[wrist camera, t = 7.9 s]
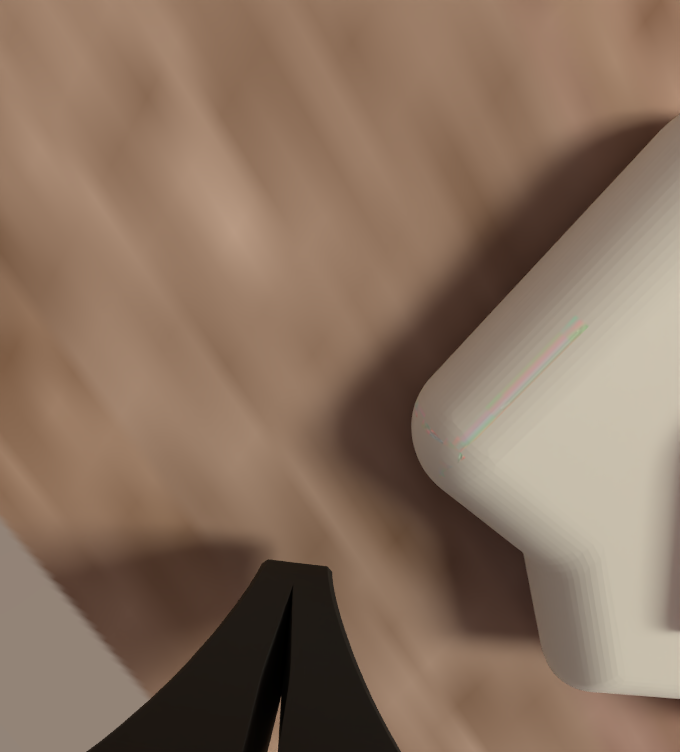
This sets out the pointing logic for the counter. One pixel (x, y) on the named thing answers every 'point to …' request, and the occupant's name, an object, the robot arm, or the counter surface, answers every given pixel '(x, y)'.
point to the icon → (582, 432)
